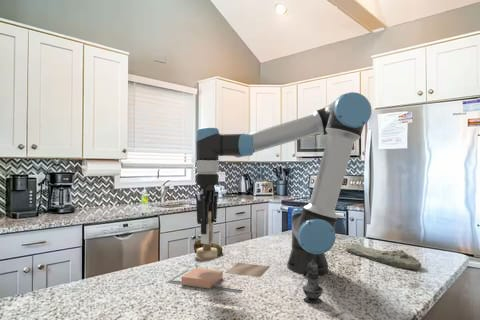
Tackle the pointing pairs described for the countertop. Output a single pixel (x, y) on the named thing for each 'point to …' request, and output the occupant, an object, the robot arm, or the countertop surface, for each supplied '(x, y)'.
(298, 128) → the robot arm
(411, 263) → the elongated rock
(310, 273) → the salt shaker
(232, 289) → the mat
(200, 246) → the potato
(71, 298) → the countertop surface
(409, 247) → the countertop surface
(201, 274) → the tile
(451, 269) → the countertop surface
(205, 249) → the masher
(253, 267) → the board
